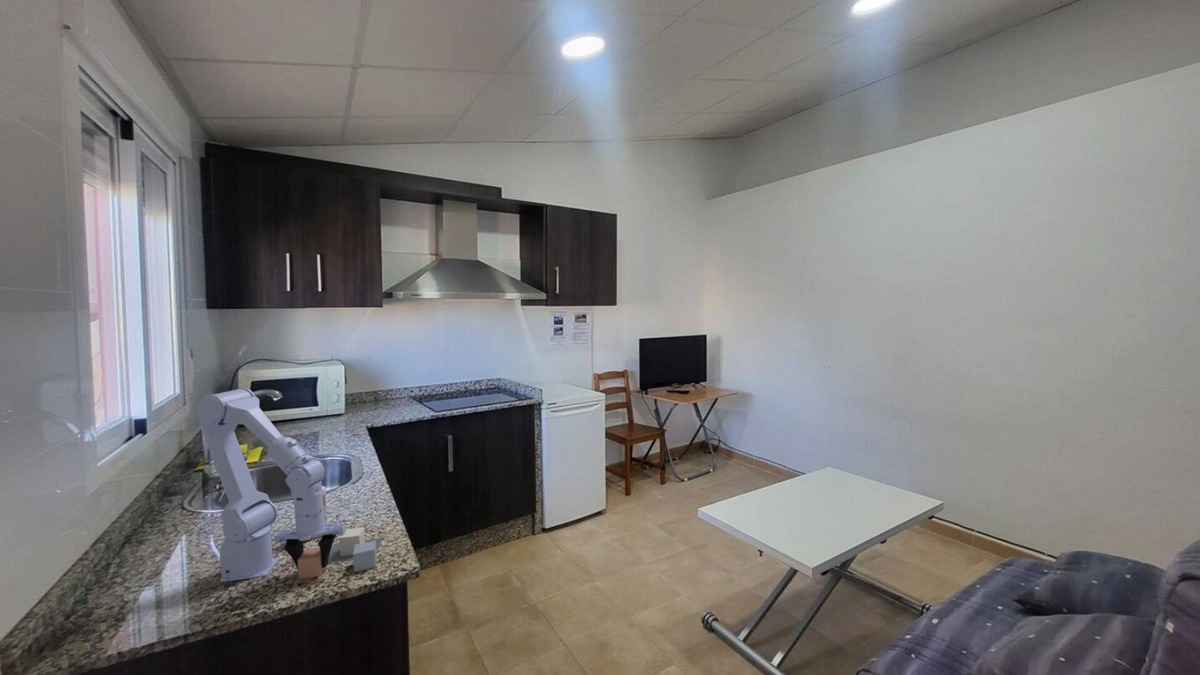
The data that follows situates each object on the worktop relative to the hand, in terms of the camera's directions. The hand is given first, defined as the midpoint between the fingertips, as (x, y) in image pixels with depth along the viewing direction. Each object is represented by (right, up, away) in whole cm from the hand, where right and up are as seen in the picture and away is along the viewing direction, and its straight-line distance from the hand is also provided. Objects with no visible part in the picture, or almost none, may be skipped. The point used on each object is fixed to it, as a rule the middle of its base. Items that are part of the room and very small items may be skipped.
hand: (313, 567), depth 110 cm
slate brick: (+11, -1, +3) cm, 12 cm away
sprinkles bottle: (-10, -1, +18) cm, 21 cm away
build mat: (+5, -1, +9) cm, 10 cm away
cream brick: (+5, 0, +9) cm, 10 cm away
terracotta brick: (0, -1, 0) cm, 1 cm away
